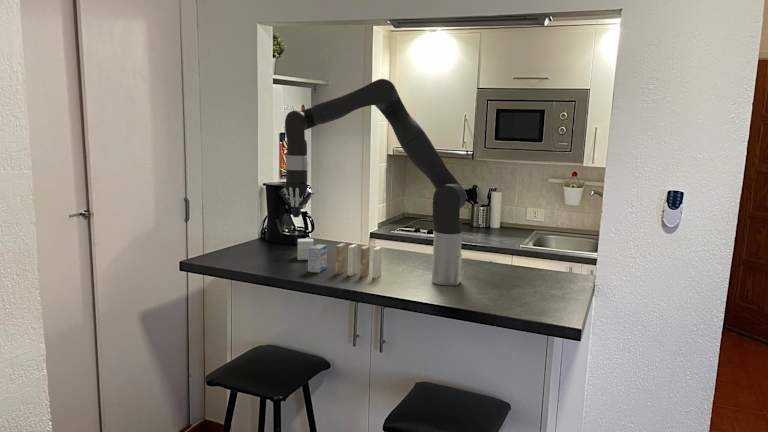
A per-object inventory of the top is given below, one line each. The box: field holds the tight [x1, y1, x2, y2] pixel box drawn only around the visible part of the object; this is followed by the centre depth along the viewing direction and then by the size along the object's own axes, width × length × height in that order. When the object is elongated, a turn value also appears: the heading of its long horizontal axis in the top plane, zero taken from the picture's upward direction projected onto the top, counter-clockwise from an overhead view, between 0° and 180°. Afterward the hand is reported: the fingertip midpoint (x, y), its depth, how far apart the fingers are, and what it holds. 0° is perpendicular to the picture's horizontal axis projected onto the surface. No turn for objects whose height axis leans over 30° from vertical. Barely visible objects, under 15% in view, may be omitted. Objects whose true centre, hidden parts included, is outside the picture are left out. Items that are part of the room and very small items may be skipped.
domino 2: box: [347, 244, 359, 277], centre depth 204 cm, size 2×5×10 cm, turn 163°
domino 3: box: [359, 245, 371, 278], centre depth 203 cm, size 2×5×10 cm, turn 163°
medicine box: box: [307, 243, 328, 274], centre depth 208 cm, size 8×4×9 cm, turn 167°
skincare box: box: [297, 238, 314, 261], centre depth 227 cm, size 6×6×7 cm
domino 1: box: [335, 242, 347, 275], centre depth 206 cm, size 2×5×10 cm, turn 163°
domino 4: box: [371, 246, 383, 279], centre depth 202 cm, size 2×5×10 cm, turn 163°
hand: (296, 217), depth 209 cm, fingers closed
